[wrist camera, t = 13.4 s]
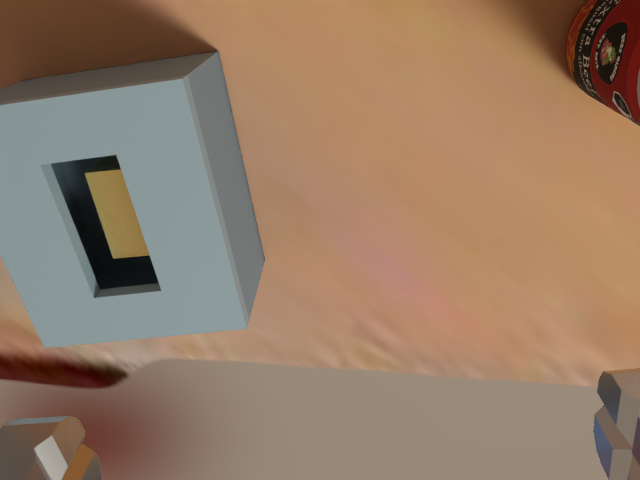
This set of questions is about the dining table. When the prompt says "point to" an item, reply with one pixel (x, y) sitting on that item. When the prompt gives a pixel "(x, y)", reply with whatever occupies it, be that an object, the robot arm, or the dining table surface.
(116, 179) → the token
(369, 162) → the dining table surface
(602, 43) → the canned food
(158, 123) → the tissue box
